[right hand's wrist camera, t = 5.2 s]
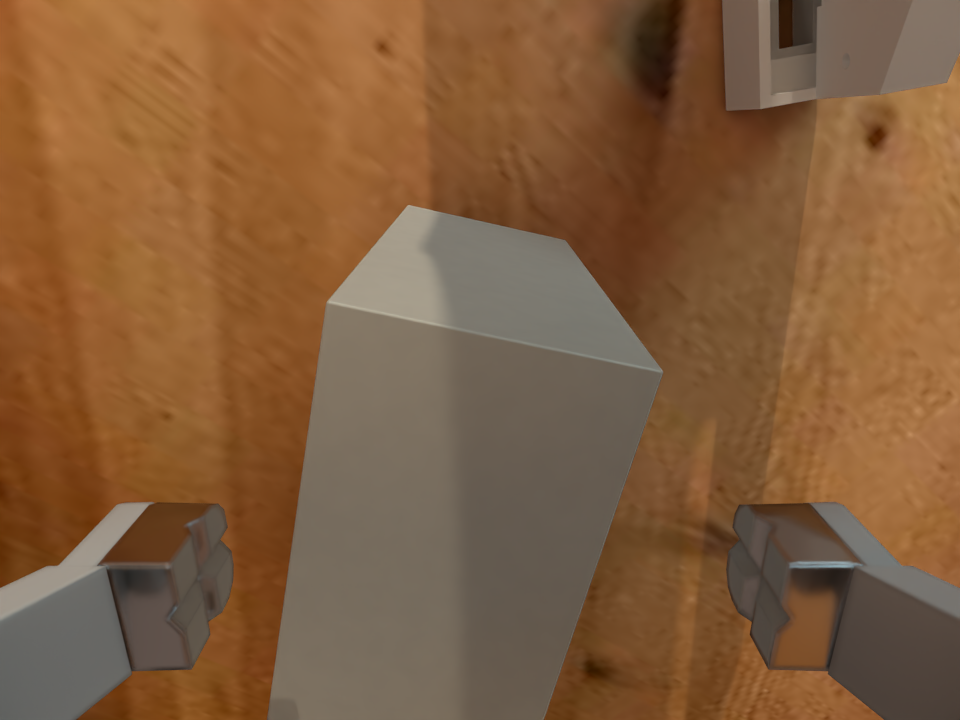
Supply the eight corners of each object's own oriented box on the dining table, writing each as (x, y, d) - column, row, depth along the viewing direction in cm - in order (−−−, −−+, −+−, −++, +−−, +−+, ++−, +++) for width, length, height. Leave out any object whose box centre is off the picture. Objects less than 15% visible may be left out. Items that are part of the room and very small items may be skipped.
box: (407, 204, 22) (325, 300, 10) (566, 240, 23) (665, 371, 11) (324, 674, 30) (219, 1049, 18) (444, 694, 30) (422, 1072, 18)
